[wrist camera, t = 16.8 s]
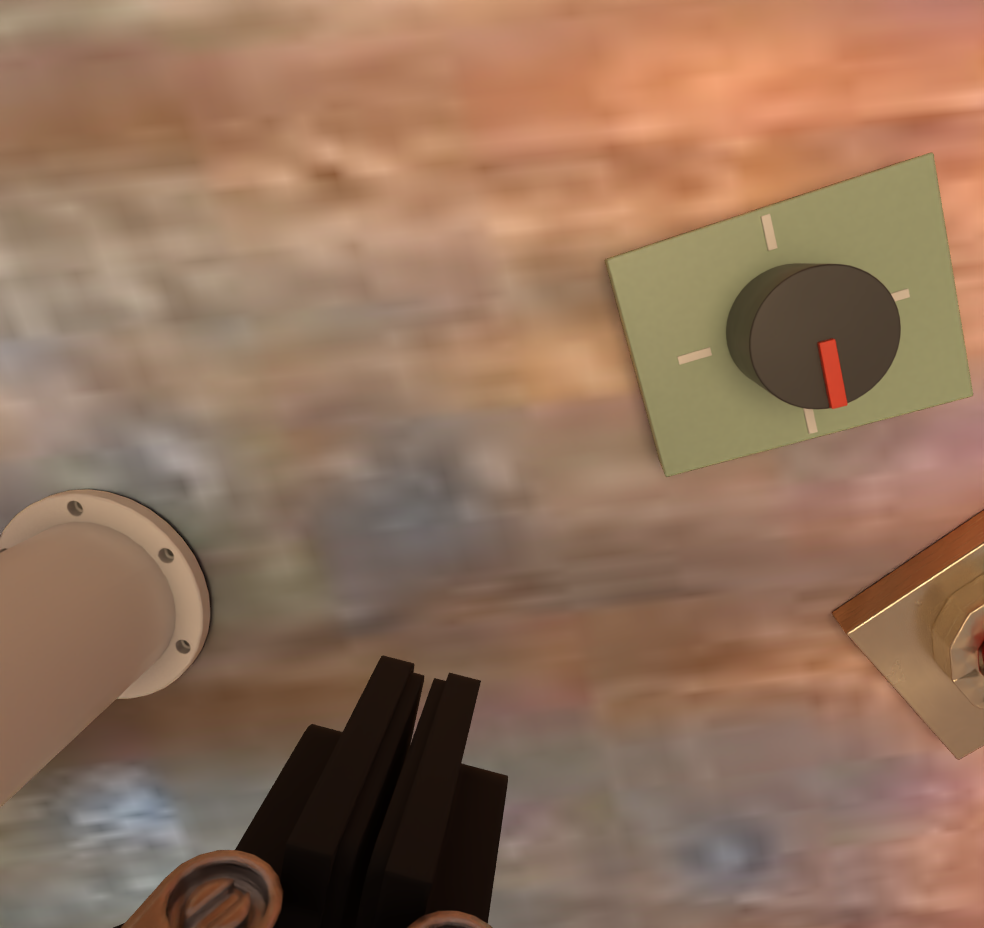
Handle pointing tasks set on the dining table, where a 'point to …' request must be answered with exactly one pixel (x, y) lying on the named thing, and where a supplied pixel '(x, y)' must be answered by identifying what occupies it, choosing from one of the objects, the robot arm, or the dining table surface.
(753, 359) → the dial knob
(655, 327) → the dial panel
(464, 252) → the dining table surface
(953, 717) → the button box
